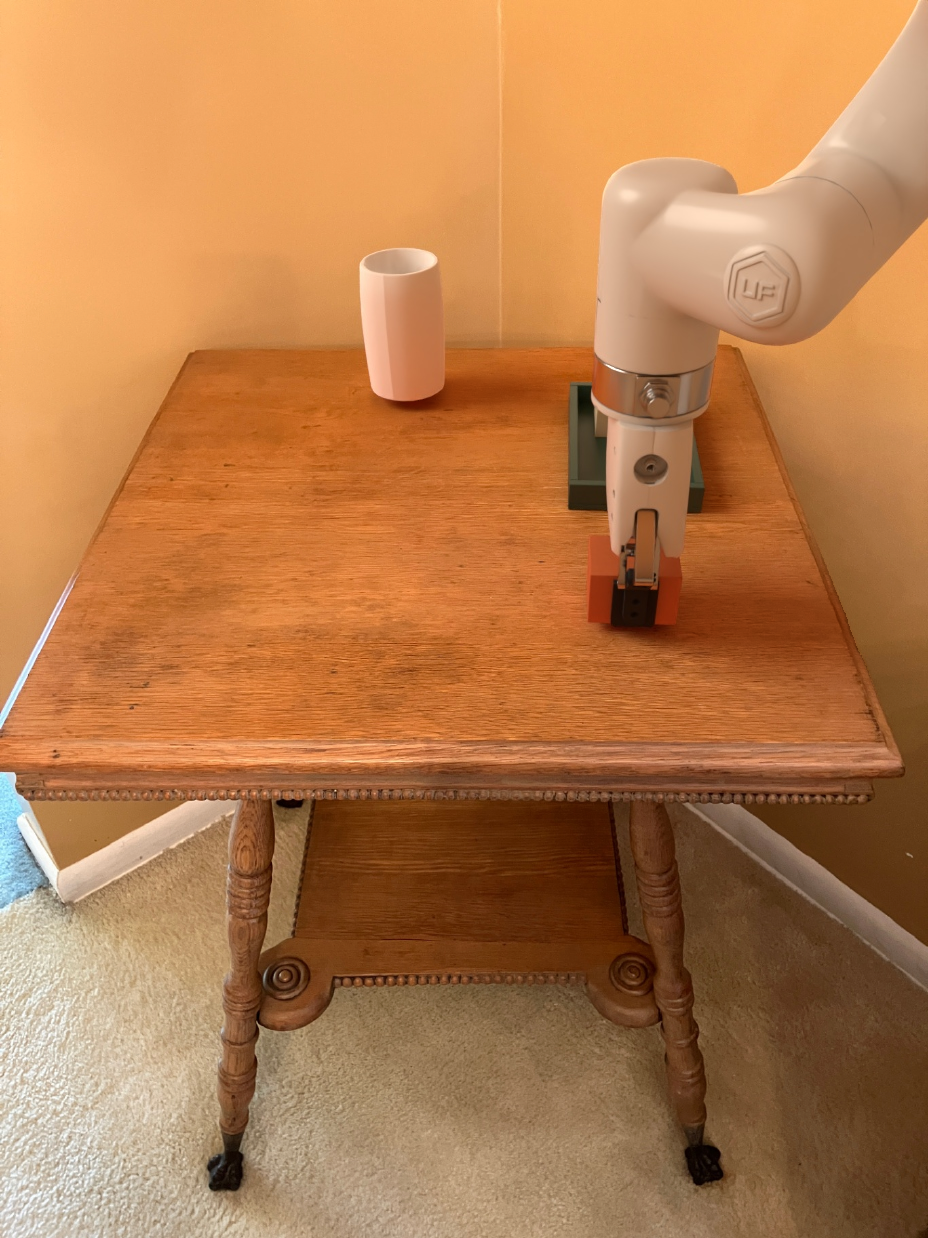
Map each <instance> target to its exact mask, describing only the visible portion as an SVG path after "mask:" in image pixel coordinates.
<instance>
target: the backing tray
mask: <svg viewBox="0 0 928 1238" xmlns="http://www.w3.org/2000/svg"><path fill="white" fill-rule="evenodd" d="M568 389H569V390H568V428H567V429H568V432H567V433H568V436H567V437H568V439H567V442H568V449H567V456H568V457H567V459H568V460H567V470H568V471H567V509H568V510H579V511H580V510H581V511H582V510H583V511H584V510H585V511H608V508H607V492H606V451H607V437H595V425H594V405H593V403H592V400H591V390H592V381H569V388H568ZM700 461H701V460H700V456H699V452H698V445H697V442H696V436H695V431H694V429H693V446H692V463H691V476H690V487H689V497H688V507H687V514H688V513H690V514H701V513H702V509H703V503H704V496H705V491H706V486H705V481H704V476H703V470H702V466H701V462H700Z"/></svg>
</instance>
